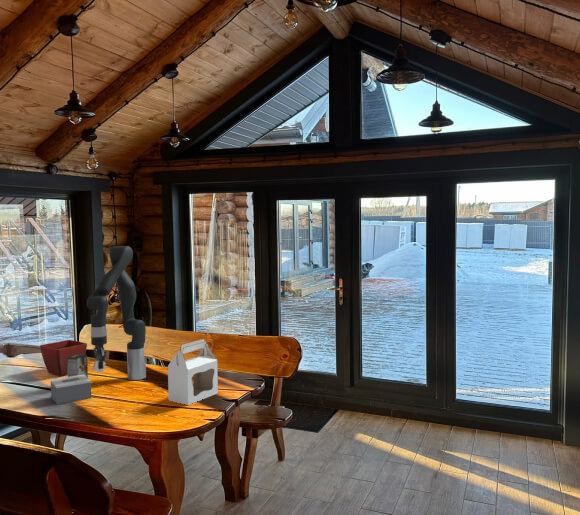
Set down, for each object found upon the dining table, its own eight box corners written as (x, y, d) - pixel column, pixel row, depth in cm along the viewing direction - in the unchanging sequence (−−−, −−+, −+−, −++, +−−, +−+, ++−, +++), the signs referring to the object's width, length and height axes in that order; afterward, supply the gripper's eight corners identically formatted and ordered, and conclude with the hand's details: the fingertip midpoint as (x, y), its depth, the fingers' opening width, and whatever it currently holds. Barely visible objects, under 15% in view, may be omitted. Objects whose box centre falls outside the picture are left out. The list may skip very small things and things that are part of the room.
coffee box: (77, 382, 291) (77, 353, 290) (88, 383, 290) (87, 354, 289) (67, 387, 282) (66, 358, 281) (78, 388, 281) (77, 358, 280)
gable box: (187, 405, 254) (186, 347, 252) (167, 400, 261) (166, 344, 259) (218, 393, 272) (217, 339, 270) (199, 389, 279) (198, 336, 278)
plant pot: (70, 366, 325) (69, 339, 324) (88, 371, 313) (87, 343, 312) (40, 373, 309) (39, 345, 308) (58, 379, 298) (57, 349, 297)
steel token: (101, 371, 274) (104, 362, 275) (102, 372, 272) (105, 362, 273) (92, 369, 271) (95, 360, 272) (93, 370, 270) (96, 361, 270)
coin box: (84, 391, 276) (83, 374, 275) (91, 398, 265) (90, 380, 265) (51, 397, 267) (50, 379, 266) (57, 404, 256) (56, 386, 255)
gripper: (110, 336, 268) (111, 370, 269) (102, 331, 279) (103, 364, 280) (95, 338, 263) (96, 372, 265) (87, 333, 275) (88, 366, 276)
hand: (100, 368), depth 273 cm, fingers closed on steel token, 1 cm apart
